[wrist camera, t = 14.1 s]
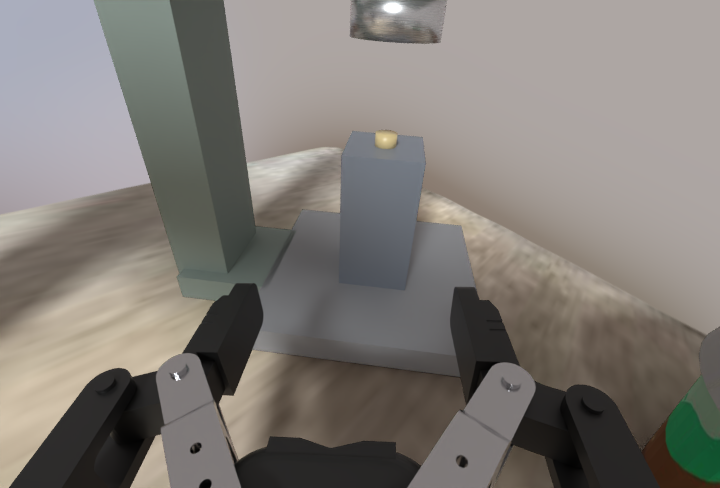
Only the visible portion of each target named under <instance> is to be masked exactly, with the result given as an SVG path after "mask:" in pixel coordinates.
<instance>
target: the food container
mask: <svg viewBox="0 0 720 488" xmlns="http://www.w3.org/2000/svg"><path fill="white" fill-rule="evenodd" d="M699 361H700V370H701V373H702V375H701V376H700V377H699V378H698V380H697V381H696V382H695V383H694V385H693V386H692V387H691V389H690V390H689V391H688V392H687V394H686V395H685V396H684V397H683V399H682V400H681V401H680V403H679V404H678V405H677V406H676V408H675V409H674V410H673V411H672V413H671V414H670V415H669V417H668V418H667V419H666V420H665V422H664V423H663V424H662V425H661V427H660V428H659V429H658V431H657V432H656V433H655V434H654V436H653V437H652V438H651V439H650V441H649V442H648V443H647V445H646V446H645V448H644V449H643V451H642V454H643V456H644V458H645V460H646V462H647V464H648V466H649V468H650V469H651V471H652V473H653V475H654V477H655V479H656V481H657V483H658V485H659V486H660V488H720V327H718V328H717V329H715V330H713V331H712V332H710V333H709V334H708V335H707V336H706V338H705V339H704V340H703V342H702V344H701V348H700V352H699Z"/></svg>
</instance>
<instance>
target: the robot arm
mask: <svg viewBox="0 0 720 488" xmlns="http://www.w3.org/2000/svg"><path fill="white" fill-rule="evenodd" d="M263 317H264V314H263V308H262V304H261V300H260V296H259V292H258V288H257V285H256V284H255V283H236V284H235V285H234V287H233V288H232V290H231V292H230V294H229V295H223V296H221V297H220V298H219V299H218V300H217V301H216V302H214V303H213V304H212V306H211V307H210V309H209V311H208V312H207V316H205V317H204V319H203V321H202V324H200V325H199V327H198V329H197V330H196V332H195V334H194V335H193V337H192V338H191V340H190V342H189V343H188V345H187V347H186V348H185V350H184V352H183V353H182V354H179V355H176V356H174V357H172V358H170V359H169V360H167V361H166V362H165V363H164V364H163V365H162V366H161V367H160V368H159V370H158V371H155V372H151V373H147V374H143V375H139V376H135V377H132V376H131V374H130V373H129V371H127V370H126V369H122V368H116V369H111V370H108V371H105V372H103V373H101V374H99V375H98V376H96V377H95V378H94V379H92V380H91V381H90V382H89V383H88V384H87V385H86V386H85V388H84V389H83V390H82V392H81V393H80V394H79V396H78V397H77V398H76V400H75V401H74V402H73V404H72V405H71V406H70V408H69V409H68V410H67V411H66V413H65V414H64V415H63V417H62V418H61V419H60V421H59V422H58V423H57V425H56V426H55V427H54V429H53V430H52V431H51V433H50V434H49V435H48V437H47V438H46V439H45V441H44V442H43V443H42V445H41V446H40V447H39V449H38V450H37V451H36V453H35V454H34V455H33V457H32V458H31V459H30V460H29V462H28V463H27V464H26V466H25V467H24V468H23V470H22V471H21V472H20V474H19V475H18V476H17V478H16V479H15V480H14V482H13V483H12V484H11V486H10V487H9V488H130V487H131V485H132V483H133V481H134V478H135V476H136V474H137V472H138V470H139V468H140V466H141V464H142V462H143V460H144V458H145V456H146V454H147V452H148V450H149V448H150V446H151V444H152V442H153V440H154V438H155V436H156V435H160V434H161V435H162V441H163V447H164V452H165V458H166V463H167V469H168V475H169V480H170V486H171V488H494V486H495V484H496V482H497V480H498V477H499V475H500V473H501V471H502V469H503V467H504V465H505V463H506V461H507V459H508V457H509V455H510V452H511V450H512V448H513V446H514V445H515V446H518V447H521V448H523V449H526V450H529V451H531V452H534V453H537V454H540V455H542V456H545V459H546V463H547V466H548V469H549V472H550V476H551V479H552V482H553V486H554V488H660V486H659V485H658V483H657V481H656V479H655V477H654V475H653V473H652V471H651V469H650V468H649V466H648V464H647V462H646V460H645V458H644V456H643V454H642V453H641V451H640V449H639V447H638V445H637V443H636V441H635V439H634V437H633V436H632V434H631V432H630V430H629V428H628V426H627V424H626V422H625V420H624V419H623V417H622V415H621V413H620V411H619V409H618V407H617V406H616V404H615V403H614V402H613V400H612V399H611V398H610V397H609V396H607V395H606V394H605V393H603V392H602V391H600V390H598V389H596V388H594V387H591V386H587V385H574V386H571V387H570V388H569V389H568V390H567V391H566V392H564V391H561V390H558V389H554V388H551V387H548V386H545V385H542V384H540V383H538V382H536V381H534V380H533V378H532V377H531V375H530V374H529V373H528V372H527V371H526V370H524V369H523V368H521V367H520V365H519V363H518V360H517V358H516V355H515V352H514V350H513V347H512V345H511V342H510V339H509V337H508V334H507V332H506V329H505V326H504V324H503V323H502V319H501V316H500V313H499V311H498V309H497V308H496V307H495V306H494V305H493V304H492V303H491V302H490V301H489V300H479V297H478V294H477V291H476V288H475V287H455V288H454V293H453V300H452V307H451V313H450V328H451V334H452V339H453V344H454V348H455V353H456V358H457V363H458V368H459V372H460V377H461V382H462V387H463V392H464V397H465V401H466V405H467V406H466V407H465V409H464V410H463V411H462V410H459V411H458V412H457V413H456V415H455V416H454V418H453V419H452V421H451V422H450V424H449V425H448V427H447V428H446V430H445V431H444V433H443V434H442V436H441V437H440V439H439V440H438V442H437V443H436V445H435V446H434V448H433V449H432V451H431V453H430V454H429V456H428V457H427V459H426V460H425V462H424V463H423V465H422V466H420V465H419V464H418V463H416V462H415V461H413V460H412V459H410V458H408V457H406V456H404V455H402V454H399V453H396V442H377V441H361V442H357V443H352V444H348V445H344V446H339V447H335V448H329V447H325V446H322V445H319V444H317V443H314V442H311V441H308V440H305V439H302V438H291V437H270V438H269V442H268V445H267V447H265V448H262V449H259V450H256V451H254V452H252V453H250V454H248V455H246V456H245V457H243V458H241V459H240V460H239V459H238V456H237V454H236V451H235V449H234V446H233V443H232V440H231V437H230V434H229V431H228V428H227V426H226V423H225V420H224V417H223V414H222V411H221V408H220V406H219V402H220V400H221V398H222V395H232V396H234V393H235V391H236V388H237V386H238V383H239V381H240V378H241V376H242V374H243V371H244V369H245V366H246V364H247V361H248V359H249V356H250V354H251V351H252V349H253V347H254V344H255V342H256V339H257V337H258V334H259V332H260V329H261V327H262V324H263Z"/></svg>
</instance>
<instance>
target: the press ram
mask: <svg viewBox="0 0 720 488" xmlns="http://www.w3.org/2000/svg"><path fill="white" fill-rule="evenodd" d="M446 4H447V0H351V15H350V16H351V17H350V37H353V38H358V39H364V40H373V41H383V42H397V43H422V44H423V43H425V44H427V43H428V44H429V43H440V42H441V35H442V29H443V23H444V16H445V10H446Z"/></svg>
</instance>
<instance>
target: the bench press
mask: <svg viewBox="0 0 720 488" xmlns="http://www.w3.org/2000/svg"><path fill="white" fill-rule="evenodd" d="M94 3H95V6H96V9H97V12H98V16H99V19H100V22H101V25H102V28H103V31H104V35H105V38H106V41H107V44H108V47H109V51H110V54H111V57H112V60H113V63H114V67H115V69H116V73H117V76H118V79H119V82H120V86H121V89H122V92H123V95H124V98H125V101H126V105H127V107H128V111H129V114H130V118H131V121H132V124H133V127H134V130H135V133H136V137H137V140H138V143H139V146H140V149H141V152H142V156H143V159H144V162H145V165H146V168H147V171H148V175H149V178H150V181H151V184H152V188H153V191H154V194H155V197H156V200H157V204H158V207H159V210H160V213H161V216H162V219H163V223H164V226H165V229H166V232H167V235H168V239H169V242H170V245H171V248H172V251H173V255H174V258H175V261H176V264H177V267H178V270H179V275H178V276H177V279H178V282H179V285H180V288H181V292H182V295H183V297H191V298H199V299H207V300H215V301H217V300H218V299H219V298H220V297H221V296H223V295H229V294H230V292H231V290H232V288H233V287H234V285H235V284H236V283H255V284H256V285H257V288H258V292H259V296H260V300H261V304H262V308H263V314H264V317H263V324H262V327H261V329H260V332H259V334H258V337H257V339H256V342H255V344H254V347H253V349H252V350H260V351H267V352H275V353H282V354H290V355H297V356H305V357H312V358H320V359H328V360H335V361H343V362H350V363H358V364H365V365H373V366H381V367H388V368H396V369H403V370H411V371H418V372H426V373H434V374H441V375H449V376H456V377H460V372H459V368H458V363H457V358H456V353H455V348H454V344H453V339H452V334H451V328H450V313H451V307H452V300H453V293H454V288H455V287H475V288H476V286H475V282H474V277H473V273H472V269H471V265H470V261H469V257H468V252H467V248H466V244H465V240H464V236H463V231H462V227H461V226H459V225H449V224H439V223H430V222H420V221H416V225H415V231H414V237H413V243H412V250H411V256H410V262H409V268H408V274H407V280H406V286H405V290H397V289H388V288H379V287H370V286H361V285H352V284H344V283H339V251H340V213H332V212H323V211H313V210H303V209H302V211H301V213H300V215H299V217H298V219H297V221H296V223H295V224H294V226H293V228H292V230H287V229H278V228H268V227H259V226H255V221H254V214H253V207H252V200H251V192H250V185H249V178H248V171H247V164H246V157H245V150H244V143H243V136H242V129H241V121H240V115H239V107H238V100H237V93H236V86H235V79H234V73H233V66H232V58H231V51H230V44H229V36H228V29H227V23H226V15H225V8H224V1H223V0H94ZM476 291H477V290H476Z"/></svg>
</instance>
